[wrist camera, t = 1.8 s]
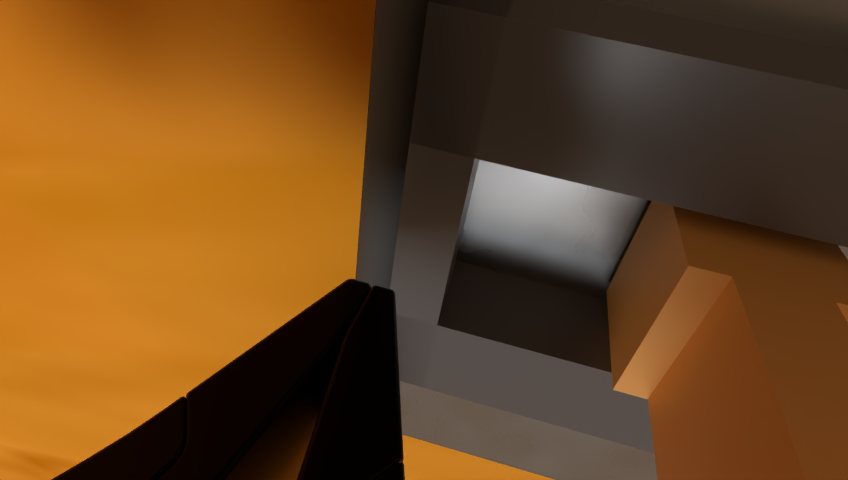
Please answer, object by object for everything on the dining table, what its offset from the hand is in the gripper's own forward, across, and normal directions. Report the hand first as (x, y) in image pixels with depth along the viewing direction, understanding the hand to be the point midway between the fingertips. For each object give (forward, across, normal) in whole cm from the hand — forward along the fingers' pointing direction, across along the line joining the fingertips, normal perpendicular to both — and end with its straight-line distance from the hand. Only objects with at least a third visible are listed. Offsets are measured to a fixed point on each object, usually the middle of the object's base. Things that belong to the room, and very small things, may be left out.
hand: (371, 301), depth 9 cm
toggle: (+4, -6, 0) cm, 8 cm away
